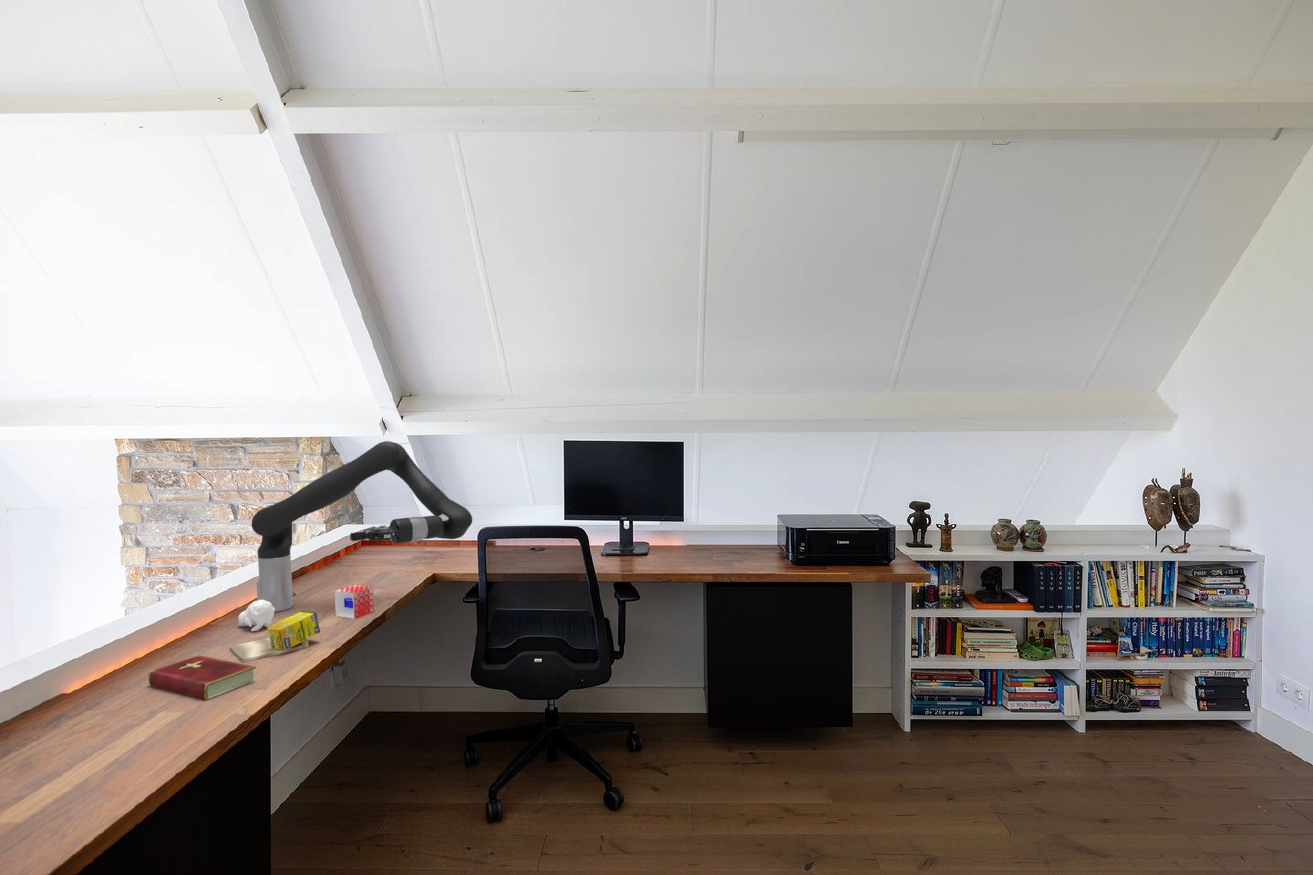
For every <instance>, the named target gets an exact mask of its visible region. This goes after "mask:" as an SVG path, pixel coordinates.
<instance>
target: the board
mask: <svg viewBox="0 0 1313 875" xmlns="http://www.w3.org/2000/svg"><path fill="white" fill-rule="evenodd" d="M307 648H309V640H308V639H306V640H304V641H302V642H300V643H299V644H297V645H295V646H293V647H291V648H289V649H287V650H282V649H273V648H272V647H271V641H270V637H266V638H263V639H258V640H253V641H249V642H243V643H240V644H234V645H230V646H229V650H230V651H231V652H232V653H233V654H234V655H235V656H236V657H237V658H238V659H239V660H240V661H241V662H242V664H245V663H247V662H252V661H256V660H260V659H264V658H265V659H266V658H268V657H273V656H277V655H282V654H286V653H289V652H293V651H298V650H303V649H307Z"/></svg>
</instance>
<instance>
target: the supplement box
mask: <svg viewBox="0 0 1313 875" xmlns="http://www.w3.org/2000/svg"><path fill="white" fill-rule="evenodd" d="M318 620H319V619H318V615H317V612H316V611H305V610H302V611H300V612H297V613H295V614H294V615H291V616H288V617H287V618H284V619H283V620H279V621H278V622H277V623H274V624H272V625H271V626H270V627H266V628H267V631H268V632H267V633H268V636H269V637H268V638H270V641H271V647H272V648H273V649H282V650H287V649H289V648H291V647H293V646H295V645H297V644H299V643H300V642H302V641H304V640H306V639H307V640H308V639H310V638H313V637H314V636H316V635H317V634H320V633H321V630H320V626H319V621H318Z"/></svg>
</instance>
